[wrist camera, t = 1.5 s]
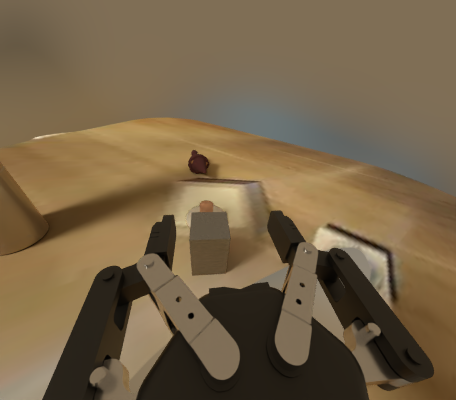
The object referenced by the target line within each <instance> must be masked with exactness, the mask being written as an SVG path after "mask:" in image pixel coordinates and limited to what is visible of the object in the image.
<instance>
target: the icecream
mask: <svg viewBox="0 0 456 400" xmlns="http://www.w3.org/2000/svg"><path fill="white" fill-rule="evenodd" d="M197 153H198V152H197V151H196V150H193V151H192V152H191V154H192V156H191V157H190V159H189V161H188V162H189V164H188V166H189V168H190V171H191V172H194V173H196V174H199V173H206V169H207V168H208V166H209V162H208V159H207V158H206V157H205V156H203V155H201V154H197Z"/></svg>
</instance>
